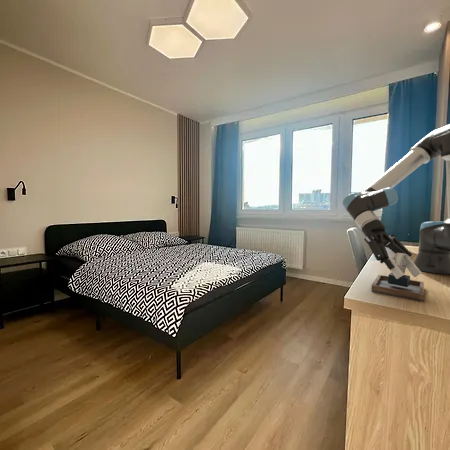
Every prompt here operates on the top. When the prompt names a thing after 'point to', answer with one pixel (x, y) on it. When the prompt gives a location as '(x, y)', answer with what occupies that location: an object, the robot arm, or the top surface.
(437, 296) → the top surface
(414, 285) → the valet tray
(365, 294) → the top surface
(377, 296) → the top surface
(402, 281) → the rubber stamp
